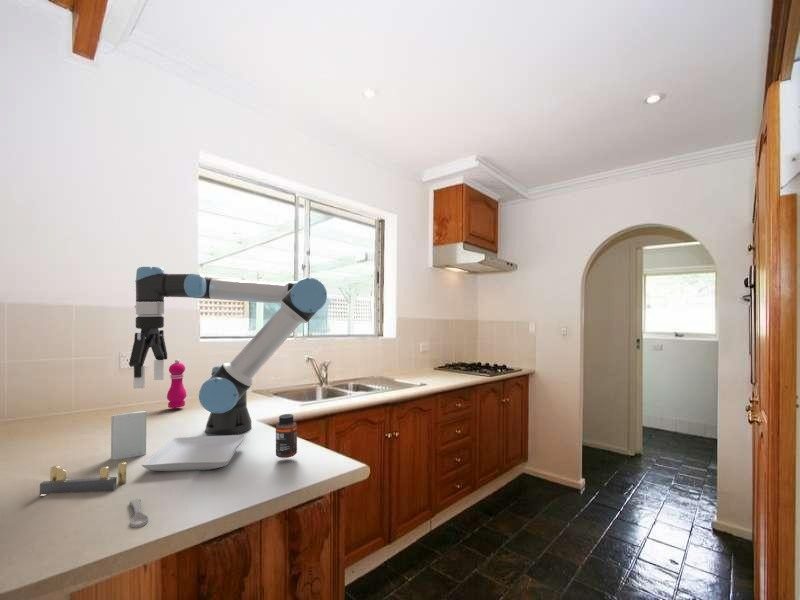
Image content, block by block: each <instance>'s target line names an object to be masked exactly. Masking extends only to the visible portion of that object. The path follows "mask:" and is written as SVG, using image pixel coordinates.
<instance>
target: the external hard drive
mask: <svg viewBox="0 0 800 600" xmlns="http://www.w3.org/2000/svg"><path fill="white" fill-rule="evenodd" d="M147 416H148V415H147V410H143V411H142V410H141V411H133V412H125V413H117V414H116V413H115V414H112V415H111V421H110V422H111V424H110V425H111V428H110V430H111V434H110V435H111V436H110V437H111V438H110V441H111V442H110V461H113V460H112V459H114V460H121V459H129V458H135V457H139V456H145V455H147Z"/></svg>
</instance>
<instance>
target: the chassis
mask: <svg viewBox="0 0 800 600" xmlns="http://www.w3.org/2000/svg"><path fill="white" fill-rule="evenodd" d="M117 467H118V468H117V471H118V472H117V476H114V477H113V476H112V477H111V476H109V475H110V469H109V468H110V467H109V466H102V467H100V469H99V477H95V478H92V477H91V478H79V479H78V478H77V479H76V478H75V479H67V469H66V468H61V469H60V465H53V466H51V467H50V474H49V477H50V478H49V480H44V481H42V482H41V483H39V496H40V495H41V494H48V495H50V494H58V493H59V494H63V493H98V492H101V493H102V492H105V493H106V492H115V491H116V490H117V485H118V486H123V485H126V483H127V462H126V461H121V462H118V465H117Z"/></svg>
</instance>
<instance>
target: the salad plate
mask: <svg viewBox="0 0 800 600" xmlns="http://www.w3.org/2000/svg"><path fill="white" fill-rule="evenodd" d="M246 436H247V435H245V434H234V435H209V436H208V435H207V436H206V435H205V436H202V435H200V436H187V437H186V436H185V437H175V438H173V439H171V440H170V441H168V442H167V443H166V444H165V445H164V446H162V447H161V448H160V449H158V450H157V451H156V452H154V454H153V455H151V456H150V457H149V458H147V459H146V460H145V461H144V462H143V463H141V466H142V467H143V468H144V469H147V470H150V471H157V472H159V471H162V472H177V471H178V472H180V471H196V470H200V471H206V470H215V469H218V468H219V469H220V468H222V467H225V466H226V465H228V464H229V463H230V461H231V460H232V458H233V457H234V454H235V452H236V451H237V449H238V448H239V447H240V445H241V444H242V443H243V442H244V441H245V438H246Z"/></svg>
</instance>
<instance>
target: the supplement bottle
mask: <svg viewBox="0 0 800 600" xmlns="http://www.w3.org/2000/svg"><path fill="white" fill-rule="evenodd" d="M278 421H279V422H278V423H276V426H275V455H276V458H282V459H285V458H291V457H294V456H296V454H297V453H298V429H297V428H298V425H297V422H296V421H294V414H292V413H285V414H281V415H279V417H278Z"/></svg>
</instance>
